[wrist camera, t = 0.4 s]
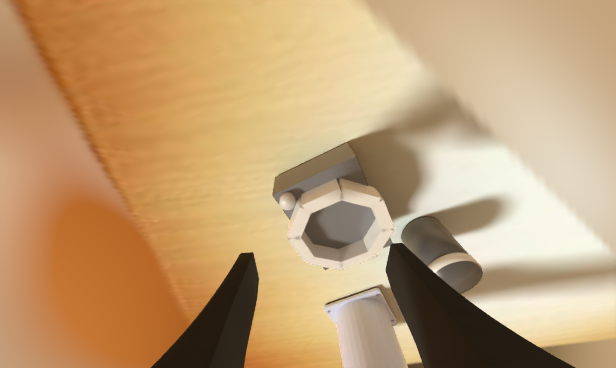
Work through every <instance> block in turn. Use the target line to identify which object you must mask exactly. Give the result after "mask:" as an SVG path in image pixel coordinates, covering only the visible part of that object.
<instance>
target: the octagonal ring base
mask: <svg viewBox="0 0 616 368" xmlns="http://www.w3.org/2000/svg"><path fill="white" fill-rule="evenodd" d="M273 197H274V198H275V200H276V201H277V202H278V204H279V205H280V207H281V208H282V209H283V211H284V212H285V214H286V215H287V217H288V218H289V219H290V222H289V224H288V241H289V242H290V243H291V245H292V246H293V247H294V249H295V250H296V251H297V253H298V254H299V255H300V257H301V258H302V259H303V261H304V262H305V263H306V262H308V264H309V265H315V266H320V267H323V268H324V269H325V270H326V269H329V268H331V269H336V270H340V268H342V269H346V268H349V267H351V266H354V265H357V264H360V263H362V262H365V261H368V260H370V259H373V258H374V256H377V255H378V254H379V252H380V251H381V249H382V248H384V247H387V246H390V245H391V244H393V243H392V241H391V239H390V236H391V234H392V233H393V231H394V229H393V228H394V225H393V222H392V220H391V217H390V215H389V212H388V210H387V207H386V204H385V202H384V200H383V198H382V197H381V195H380V193H379V192H378V190H376V189H375V188H374V187H370V186H368V183H367V181H366V179H365V176H364V174H363V171H362V169H361V167H360V164H359V162H358V160H357V157H356V155H355V154H354V152H353V151H352V149H351V147H350V146H349V144H348V143H345V144H343V145H341V146H339V147H337V148H335V149H333V150H331V151H328V152H326V153H324V154H322V155H320V156H318V157H316V158H314V159H312V160H310V161H308V162H306V163H304V164H302V165H299V166H297V167H295V168H293V169H291V170H289V171H287V172H285V173H283V174H281V175H279V176H277V177H275V182H274V188H273ZM373 255H374V256H373Z"/></svg>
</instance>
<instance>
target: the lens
mask: <svg viewBox="0 0 616 368" xmlns="http://www.w3.org/2000/svg"><path fill="white" fill-rule="evenodd" d="M401 239H402V242H403V243H404V245H405V246H406V247H407V248H408V249H409V250H411V251H412V252H413V253H414V254H415V255H416V256H417V257H418V258H419V259H420V260H421V261H422V262H423V263H424V264H426V265H427V266H428V267H429V268H430V269H431V270H432V271H433V272H434V273H436V274H437V275H438V276H439V277H440V278H441V279H442V280H444V281H445V282H446V283H447V284H448V285H450V286H451V287H452V288H453V289H455V290H456V291H457V292H458V293H459V294H461V293H464V292H466V291H468V290H470V289H471V288H473V287H474V286H475V285H476V284H477V283H478V282H479V281H480V279H481V277H482V274H483V272H482V268H481V266H480V265H479V263H478V262H477V261H476V260H475V259H474V258H473V257H472V256H471V255H469V254H468V253H467V252H466V251H465V250H464V249H463V247H462V246H461V245H460V244H459V243H458V242H457V241H456V240H455V239H454V237H453V236H452V235H451V234H450V233H449V232H448V231H447V230H446V228H445V227H444V226H443V225H442V224H441V223H440V222H439V221H438V220H437V219H435V218H432V217H422V218H418V219H416V220H414V221H412V222H410V223H409V224H408V225H407V226H406V227H405V228H404V230H403V231H402V234H401Z"/></svg>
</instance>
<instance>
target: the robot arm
mask: <svg viewBox="0 0 616 368" xmlns="http://www.w3.org/2000/svg"><path fill="white" fill-rule="evenodd" d="M386 273H387V277H388V280H389V283H390V286H391V289H392V292H393V294H394V296H395V298H396V301H397V303H398V305H399V307H400V309H401V312H402V314H403V316H404V318H405V320H406V323H407V325H408V327H409V329H410V331H411V334H412V336H413V338H414V341H415V343H416V346H417V348H418V351H419V354H420V357H421V360H422V363H423V365H424V368H575V367H573V366H571V365H569V364H568V363H566V362H564V361H562V360H560V359H558V358H556V357H555V356H553V355H551V354H550V353H548V352H546V351H544V350H543V349H541V348H540V347H538V346H536V345H534V344H533V343H531V342H529V341H528V340H526V339H525V338H523V337H521V336H520V335H518V334H516V333H515V332H513V331H512V330H510V329H509V328H507V327H506V326H504V325H503V324H501V323H500V322H498V321H496V320H495V319H494V318H492V317H491V316H489V315H488V314H486V313H485V312H484V311H482V310H481V309H479V308H478V307H477V306H475V305H474V304H473V303H471V302H470V301H468V300H467V299H466V298H465V297H463V296H462V295H461V294H459V293H458V292H457V291H456V290H455V289H453V288H452V287H451V286H450V285H448V284H447V283H446V282H445V281H444V280H442V279H441V278H440V277H439V276H438V275H437V274H436V273H434V272H433V271H432V270H431V269H430V268H429V267H428V266H427V265H426V264H424V263H423V262H422V261H421V260H420V259H419V258H418V257H417V256H416V255H415V254H414V253H413V252H412V251H411V250H409V249H408V248H407V247H406V246H405V245H404V244H403V243H394V244H391V246H390V251H389V256H388V261H387V266H386ZM258 283H259V277H258V272H257V268H256V263H255V258H254V254H253V253H241V254H240V255H239V257H238V258H237V260H236V262H235V264H234V265H233V267H232V268H231V270H230V272H229V273H228V275H227V276H226V278H225V279H224V281H223V282H222V284H221V285H220V287H219V288H218V290H217V291H216V292H215V294H214V295H213V297H212V298H211V299H210V301H209V302H208V303H207V305H206V306H205V307H204V309H203V310H202V311H201V313H200V314H199V315H198V316H197V318H196V319H195V320H194V321H193V322H192V324H191V325H190V326H189V327H188V328H187V329H186V331H185V332H184V333H183V334H182V335H181V336H180V337H179V339H178V340H177V341H176V342H175V343H174V344H173V345H172V346H171V347H170V348H169V349H168V351H167V352H166V353H165V354H164V355H163V356H162V357H161V358H160V359H159V360H158V361H157V362H156V363H155V364H154V365H153V366H152V367H151V368H244V362H245V355H246V349H247V344H248V340H249V335H250V330H251V325H252V321H253V316H254V311H255V306H256V301H257V293H258ZM324 311H325V312H326V313H327V314H328V316H329V317H330V318H331V319H332V320H333V322H334V323H335V324H336V327H337V333H338V339H339V345H340V352H341V358H342V364H343V368H408V366H407V364H406V361H405V358H404V355H403V353H402V350H401V347H400V345H399V342H398V339H397V336H396V334H395V331H394V328H393V326H394V325H396V324H397V320H396V318H395V316H394V315H393V313H392V311H391V309H390V307H389V305H388V303H387V302H386V300H385V298H384V296H383V294H382V292H381V291H380V289H379V288H374V289H371V290H368V291H365V292H362V293H359V294H356V295H353V296H351V297H348V298H345V299H342V300H339V301H336V302H333V303H330V304H327V305H325V306H324Z"/></svg>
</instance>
